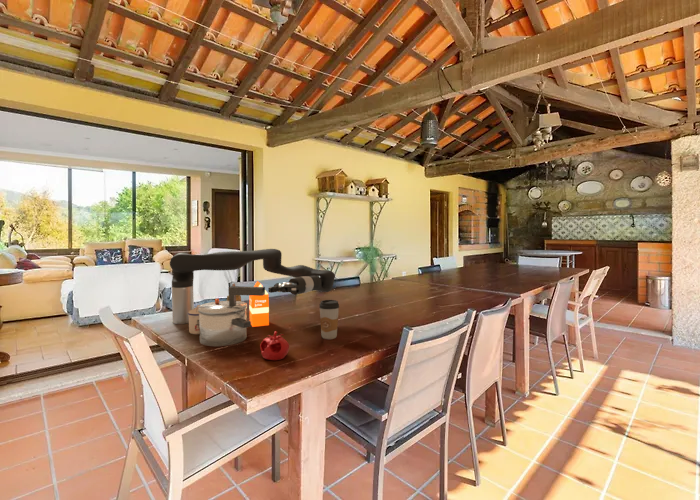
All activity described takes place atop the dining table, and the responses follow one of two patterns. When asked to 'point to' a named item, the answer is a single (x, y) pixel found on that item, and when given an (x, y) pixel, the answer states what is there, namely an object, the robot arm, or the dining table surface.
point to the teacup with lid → (194, 321)
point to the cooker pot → (223, 328)
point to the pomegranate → (274, 347)
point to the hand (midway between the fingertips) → (269, 290)
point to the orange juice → (259, 308)
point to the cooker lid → (231, 301)
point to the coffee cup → (329, 318)
